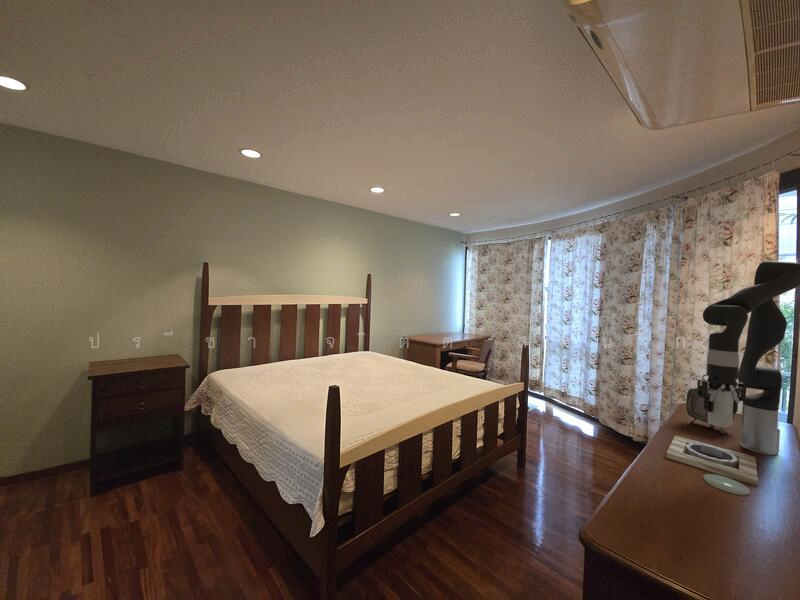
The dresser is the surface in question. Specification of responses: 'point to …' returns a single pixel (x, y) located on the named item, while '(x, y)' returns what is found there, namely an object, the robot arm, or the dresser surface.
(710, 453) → the segmented octagonal ring
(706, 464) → the striped wooden board
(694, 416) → the tabletop clock
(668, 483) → the dresser surface
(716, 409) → the skincare box
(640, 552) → the dresser surface
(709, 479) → the coaster
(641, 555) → the dresser surface
